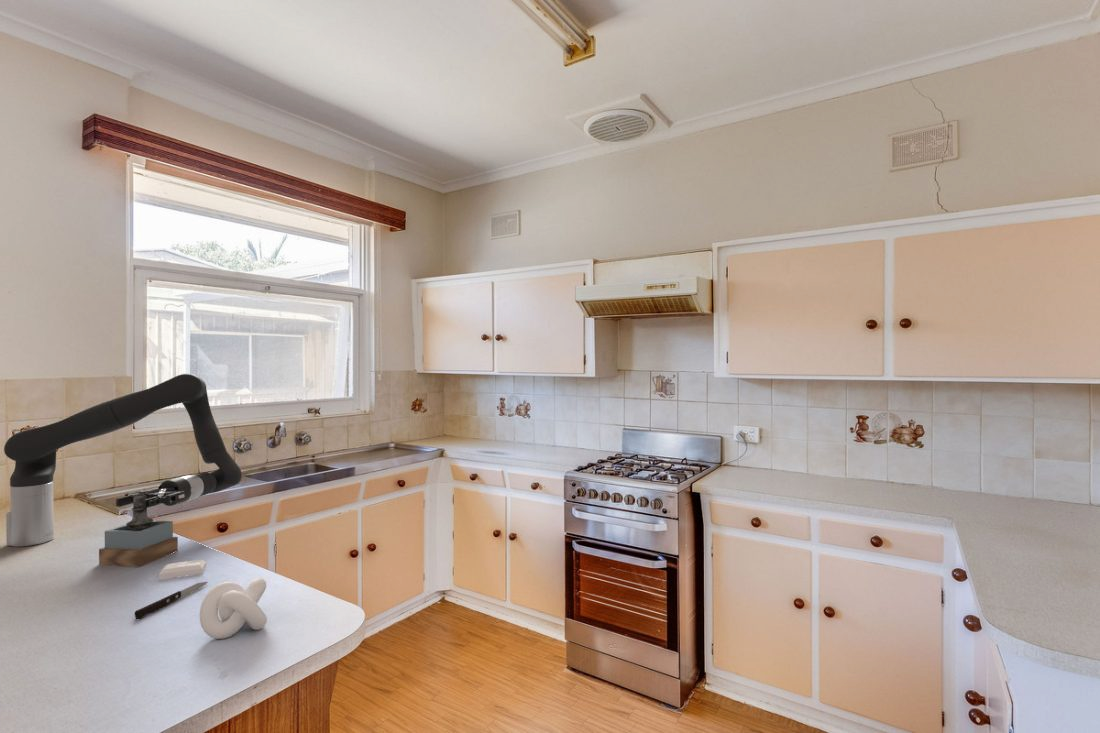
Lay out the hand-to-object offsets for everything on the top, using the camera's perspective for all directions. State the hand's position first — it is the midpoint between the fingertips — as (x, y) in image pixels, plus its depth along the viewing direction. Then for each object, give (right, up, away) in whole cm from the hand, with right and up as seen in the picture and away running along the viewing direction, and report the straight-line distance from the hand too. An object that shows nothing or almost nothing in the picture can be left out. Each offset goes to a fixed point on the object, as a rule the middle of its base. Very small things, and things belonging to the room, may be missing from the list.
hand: (130, 503), depth 145 cm
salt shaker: (+1, -9, +2) cm, 9 cm away
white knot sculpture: (+51, -15, -38) cm, 65 cm away
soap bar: (+21, -16, -10) cm, 28 cm away
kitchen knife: (+30, -15, -25) cm, 42 cm away
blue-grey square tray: (+1, -11, +2) cm, 11 cm away
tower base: (+1, -15, +2) cm, 16 cm away
